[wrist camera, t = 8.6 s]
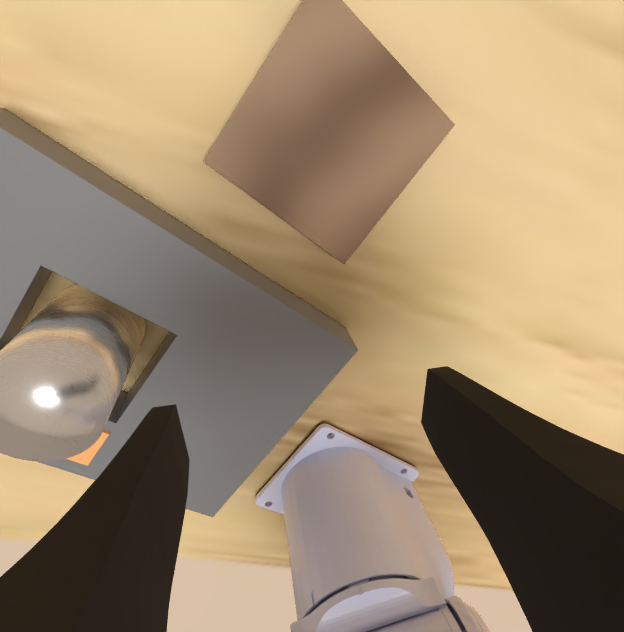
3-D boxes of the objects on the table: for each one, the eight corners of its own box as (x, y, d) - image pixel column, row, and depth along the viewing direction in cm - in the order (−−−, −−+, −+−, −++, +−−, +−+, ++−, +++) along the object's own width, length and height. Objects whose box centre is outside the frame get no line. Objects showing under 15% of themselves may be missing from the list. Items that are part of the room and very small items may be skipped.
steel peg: (163, 315, 20) (130, 401, 14) (115, 373, 21) (65, 477, 15) (80, 264, 18) (-1, 336, 12) (32, 329, 19) (-65, 428, 13)
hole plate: (345, 327, 22) (359, 352, 20) (214, 483, 26) (212, 520, 23) (4, 108, 15) (-40, 105, 13) (-113, 366, 18) (-164, 402, 16)
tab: (444, 124, 18) (454, 124, 17) (339, 258, 20) (343, 264, 19) (314, -17, 15) (318, -25, 14) (204, 159, 17) (202, 161, 16)
